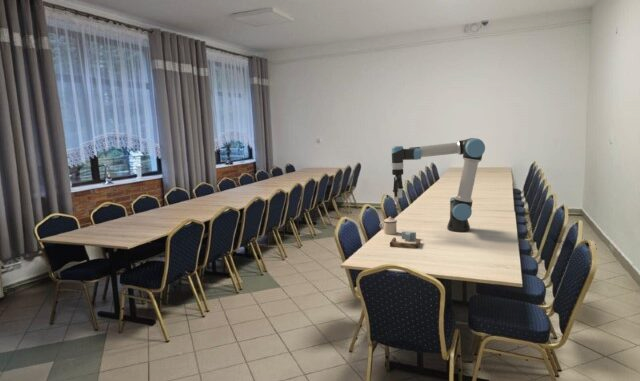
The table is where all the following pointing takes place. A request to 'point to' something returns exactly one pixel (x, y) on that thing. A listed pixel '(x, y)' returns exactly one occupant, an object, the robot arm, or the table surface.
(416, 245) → the walnut bay
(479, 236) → the table surface
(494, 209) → the table surface
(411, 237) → the slate t block
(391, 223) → the teacup with lid
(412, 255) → the table surface
